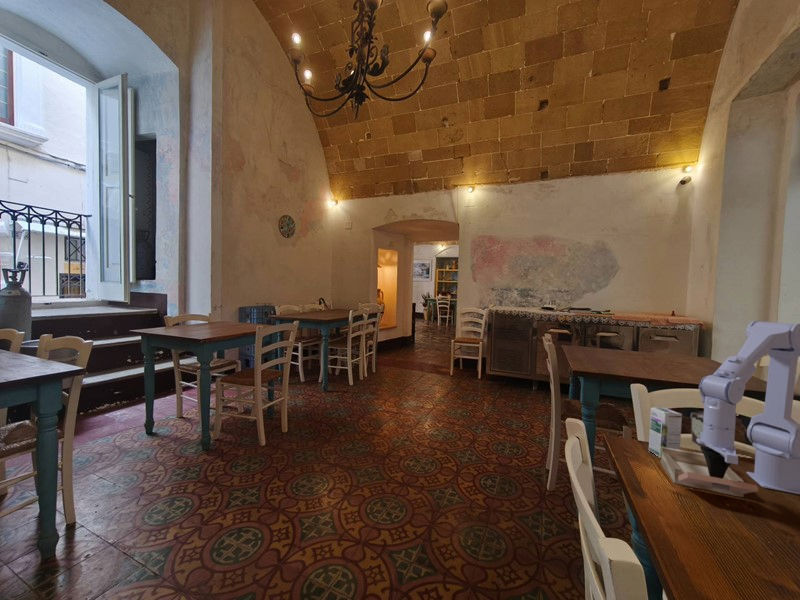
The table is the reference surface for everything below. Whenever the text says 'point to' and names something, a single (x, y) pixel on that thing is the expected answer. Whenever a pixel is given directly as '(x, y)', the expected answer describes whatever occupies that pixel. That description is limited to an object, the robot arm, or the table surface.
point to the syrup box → (664, 430)
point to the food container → (697, 427)
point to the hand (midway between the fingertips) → (715, 479)
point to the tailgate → (718, 483)
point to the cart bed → (692, 468)
